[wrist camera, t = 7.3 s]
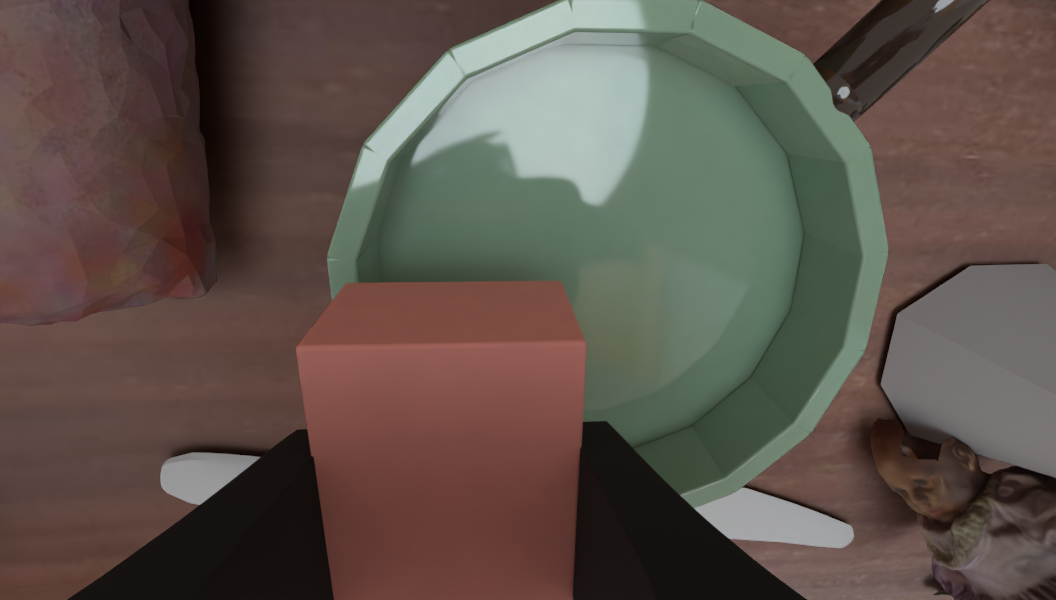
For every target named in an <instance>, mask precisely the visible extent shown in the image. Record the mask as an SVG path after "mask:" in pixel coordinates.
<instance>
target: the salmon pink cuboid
mask: <svg viewBox="0 0 1056 600" xmlns="http://www.w3.org/2000/svg"><path fill="white" fill-rule="evenodd" d="M586 353H587V343H586V341H585V338H584V336H583V333H582V331H581V328H580V326H579V324H578V321H577V319H576V316H575V314H574V311H573V309H572V306H571V304H570V302H569V299H568V297H567V294H566V292H565V289H564V287H563V284H562V282H561V281H478V282H383V283H347V284H345V285H344V286H343V288H342V289H341V290H340V291H339V293H338V294H337V295H336V297H335V298H334V299H333V300H332V302H331V303H330V304H329V306H328V307H327V308H326V309H325V311H324V312H323V313H322V315H321V316H320V317H319V318H318V320H317V321H316V322H315V324H314V325H313V326H312V328H311V329H310V330H309V331H308V333H307V334H306V335H305V337H304V338H303V339H302V340H301V342H300V343H299V344H298V346H297V348H296V354H297V361H298V368H299V375H300V382H301V389H302V396H303V403H304V409H305V416H306V423H307V430H308V437H309V444H310V451H311V456H312V457H314V463H315V470H316V477H317V484H318V491H319V498H320V505H321V512H322V519H323V526H324V533H325V541H326V548H327V555H328V562H329V569H330V576H331V583H332V590H333V597H334V600H574V599H573V583H574V563H575V544H576V524H577V504H578V485H579V465H580V448H581V447H582V430H583V411H584V392H585V372H586Z"/></svg>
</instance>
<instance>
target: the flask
mask: <svg viewBox="0 0 1056 600" xmlns="http://www.w3.org/2000/svg"><path fill="white" fill-rule="evenodd" d="M881 386H882V388H883V390H884V391H885V393H886V395H887V397H888V398H889V400H890V402H891V403H892V405H893V407H894V409H895V410H896V412H897V414H898V415H899V417H900V419H901V420H902V422H903V424H904V426H905V427H906V429H907V431H908V432H909V434H910V435H912V436H915V437H918V438H921V439H924V440H928V441H931V442H934V443H938V444H941V445H942V444H943V442H944V440H945V439H947V438H949V437H952V436H954V437H956V438H957V439H959V440H960V441H962V442H963V443H965V444H967V445H968V446H969V447H970V448H971V450H972V451H973V452H974V453H975V454H978V455H981V456H985V457H988V458H992V459H996V460H999V461H1003V462H1006V463H1009V464H1013V465H1016V466H1019V467H1022V468H1025V469H1029V470H1032V471H1035V472H1038V473H1041V474H1045V475H1048V476H1051V477H1054V478H1056V270H1055V269H1053V268H1052V267H1051V266H1050V265H1048V264H1016V265H978V266H970V267H968V268H967V269H965V270H963V271H962V272H960V273H959V274H957V275H956V276H954V277H953V278H951V279H950V280H948V281H947V282H945V283H944V284H942V285H940V286H939V287H937V288H936V289H934V290H933V291H931V292H930V293H928V294H927V295H925V296H924V297H922V298H921V299H919V300H917V301H916V302H914V303H913V304H911V305H910V306H908V307H907V308H905V309H904V310H902V311H901V312H899V313H898V314H897V318H896V322H895V326H894V330H893V334H892V339H891V343H890V347H889V351H888V355H887V360H886V364H885V368H884V372H883V376H882V381H881Z"/></svg>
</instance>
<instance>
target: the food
mask: <svg viewBox="0 0 1056 600" xmlns="http://www.w3.org/2000/svg"><path fill="white" fill-rule="evenodd" d="M188 7H189V0H0V323H11V324H20V325H28V326H35V325H40V324H44V325H51V324H54V323H58V322H67V321H78V320H80V319H82V318H84V317H86V316H88V315H90V314H92V313H97V312H101V311H110V310H117V309H123V308H129V307H136V306H143V305H146V304H149V303H151V302H154V301H157V300H159V299H162V298H175V299H186V298H198V297H201V296H203V295H206V293H207V292H208V291H209V290H210V289H211V287H212V286H213V285H214V284H215V283H216V281H217V274H216V240H215V235H214V233H213V230H212V227H211V224H210V218H209V202H210V194H209V181H208V172H207V163H206V155H205V139H204V137H203V136H202V134H201V132H200V130H199V117H200V96H199V80H198V75H197V71H196V67H195V36H194V29H193V22H192V18H191V15H190V11H189V8H188Z"/></svg>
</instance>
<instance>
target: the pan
mask: <svg viewBox="0 0 1056 600" xmlns="http://www.w3.org/2000/svg"><path fill="white" fill-rule="evenodd" d="M989 1H990V0H881V1H880V2H879V3H878V4H877V5H876V6H875V7H874V8H873V9H872V10H870V11H869V12H868V13H867V14H866V15H865V16H864V17H863V18H862V19H861V20H860V21H859V22H858V23H857V24H855V25H854V26H853V27H852V28H851V29H850V30H849V31H848V32H847V33H846V34H845V35H844V36H843V37H842V38H841V39H839V40H838V41H837V42H836V43H835V44H834V45H833V46H832V47H831V48H830V49H829V50H828V51H827V52H826V53H824V54H823V55H822V56H821V57H820V58H819V59H818V60H817V61H816V62H815V63H814V64H812V62H811V61H810V60H809V58H808V57H806V56H805V55H804V54H803V53H802V52H800V51H798V50H796V49H794V48H792V47H791V46H789V45H787V44H785V43H783V42H781V41H779V40H777V39H775V38H774V37H772V36H770V35H768V34H766V33H764V32H762V31H760V30H758V29H756V28H755V27H753V26H751V25H749V24H747V23H745V22H743V21H741V20H739V19H737V18H736V17H734V16H732V15H730V14H728V13H726V12H724V11H722V10H720V9H718V8H717V7H715V6H713V5H711V4H709V3H707V2H705V1H703V0H557V1H555V2H552V3H550V4H548V5H546V6H543V7H541V8H539V9H536V10H534V11H532V12H530V13H527V14H525V15H523V16H521V17H518V18H516V19H514V20H512V21H509V22H507V23H505V24H502V25H500V26H498V27H496V28H493V29H491V30H489V31H487V32H484V33H482V34H480V35H477V36H475V37H473V38H471V39H468V40H466V41H464V42H462V43H459V44H457V45H455V46H453V47H451V48H450V49H449V50H447V51H445V52H444V53H443V54H442V56H441V57H440V58H439V59H438V60H437V61H436V62H435V63H434V64H433V66H432V67H431V68H430V69H429V70H428V71H427V72H426V73H425V74H424V76H423V77H422V78H421V79H420V80H419V81H418V82H417V83H416V85H415V86H414V87H413V88H412V89H411V90H410V91H409V92H408V93H407V95H406V96H405V97H404V98H403V99H402V100H401V101H400V102H399V103H398V105H397V106H396V107H395V108H394V109H393V110H392V111H391V112H390V113H389V115H388V116H387V117H386V118H385V119H384V120H383V121H382V122H381V124H380V125H379V126H378V127H377V128H376V129H375V130H374V131H373V132H372V134H371V135H370V136H369V137H368V138H367V139H366V140H365V141H364V145H363V146H362V147H361V149H360V152H359V155H358V158H357V162H356V165H355V168H354V171H353V174H352V177H351V180H350V184H349V187H348V190H347V193H346V196H345V199H344V202H343V206H342V209H341V212H340V215H339V218H338V221H337V224H336V228H335V231H334V234H333V237H332V240H331V243H330V246H329V250H328V253H327V255H328V257H327V267H328V275H329V284H330V292H331V301H332V300H333V299H334V298H335V297H336V295H337V294H338V293H339V291H340V290H341V289H342V288H343V286H344V285H345V284H347V283H383V282H478V281H561V282H562V284H563V287H564V289H565V292H566V294H567V297H568V299H569V302H570V304H571V306H572V309H573V311H574V314H575V316H576V319H577V321H578V324H579V326H580V328H581V331H582V333H583V336H584V338H585V341H586V343H587V353H586V372H585V392H584V411H583V422H590V421H607V422H608V423H609V424H610V425H611V426H612V427H613V428H614V429H615V430H616V431H617V432H618V433H619V434H620V435H621V436H622V437H623V438H624V439H625V440H626V441H627V442H628V443H629V444H630V446H631V447H632V448H633V449H634V450H635V451H636V452H637V453H638V454H639V455H640V456H641V457H642V458H643V459H644V460H645V461H646V462H647V463H648V464H649V465H650V466H651V467H652V468H653V469H654V470H655V471H656V472H657V473H658V474H659V475H660V476H661V477H662V478H663V479H664V480H665V481H666V482H667V483H668V484H669V485H670V486H671V487H672V488H673V489H674V490H675V491H676V492H677V493H678V494H679V495H680V496H681V497H683V498H684V499H685V500H686V501H687V502H688V503H689V504H690V505H691V506H692V507H693V508H696V507H699V506H702V505H704V504H707V503H710V502H712V501H715V500H718V499H720V498H723V497H726V496H728V495H731V494H733V492H737V491H738V490H739V489H741V488H742V487H743V486H744V485H746V484H747V483H748V482H750V481H751V480H752V479H753V478H755V477H756V476H757V475H759V474H760V473H761V472H762V471H764V470H765V469H766V468H768V467H769V466H770V465H771V464H773V463H774V462H775V461H776V460H778V459H779V458H780V457H782V456H783V455H784V454H785V453H787V452H788V451H789V450H791V449H792V448H793V447H794V446H796V445H797V444H798V443H800V442H801V441H802V440H803V439H805V438H806V437H807V436H809V433H811V432H812V431H813V429H814V428H815V426H816V425H817V423H818V422H819V420H820V419H821V417H822V416H823V414H824V413H825V411H826V410H827V408H828V407H829V405H830V404H831V402H832V401H833V399H834V398H835V396H836V395H837V393H838V392H839V390H840V389H841V387H842V386H843V384H844V383H845V381H846V380H847V378H848V377H849V375H850V374H851V372H852V371H853V369H854V368H855V366H856V365H857V363H858V362H859V360H860V359H861V357H862V356H863V354H864V350H866V347H867V343H868V339H869V335H870V330H871V326H872V322H873V318H874V313H875V309H876V305H877V301H878V297H879V292H880V288H881V284H882V280H883V275H884V271H885V267H886V263H887V259H888V252H887V251H888V250H889V248H888V242H887V237H886V231H885V225H884V219H883V213H882V207H881V201H880V195H879V189H878V184H877V178H876V172H875V166H874V160H873V154H872V150H871V148H870V144H869V143H868V142H867V140H866V139H865V137H864V136H863V135H862V133H861V132H860V130H859V129H858V127H857V126H856V125H855V123H854V121H855V120H857V119H858V118H859V117H860V116H861V115H863V114H864V113H865V112H866V111H867V110H868V109H869V108H870V107H871V106H873V105H874V104H875V103H876V102H877V101H878V100H879V99H880V98H881V97H883V96H884V95H885V94H886V93H887V92H888V91H889V90H890V89H892V88H893V87H894V86H895V85H896V84H897V83H898V82H899V81H900V80H902V79H903V78H904V77H905V76H906V75H907V74H908V73H909V72H910V71H912V70H913V69H914V68H915V67H916V66H917V65H918V64H919V63H921V62H922V61H923V60H924V59H925V58H926V57H927V56H928V55H929V54H931V53H932V52H933V51H934V50H935V49H936V48H937V47H938V46H940V45H941V44H942V43H943V42H944V41H945V40H946V39H947V38H948V37H950V36H951V35H952V34H953V33H954V32H955V31H956V30H957V29H958V28H960V27H961V26H962V25H963V24H964V23H965V22H966V21H967V20H969V19H970V18H971V17H972V16H973V15H974V14H975V13H976V12H977V11H979V10H980V9H981V8H982V7H983V6H984V5H985V4H986V3H988V2H989Z"/></svg>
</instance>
